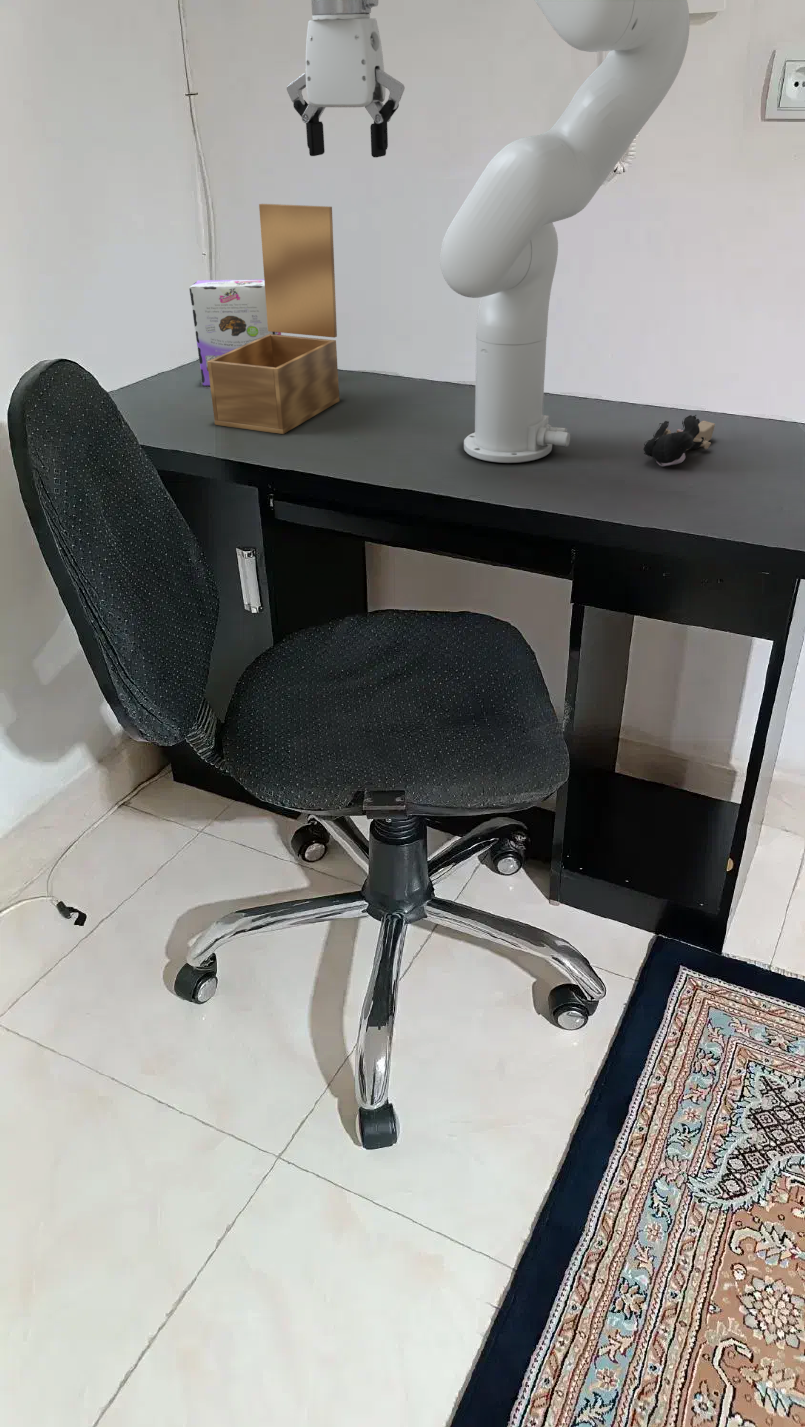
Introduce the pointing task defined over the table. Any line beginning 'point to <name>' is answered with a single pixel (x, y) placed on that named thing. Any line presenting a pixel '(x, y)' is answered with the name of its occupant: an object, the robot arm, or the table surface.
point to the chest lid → (299, 269)
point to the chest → (274, 382)
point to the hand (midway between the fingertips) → (347, 155)
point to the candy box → (227, 317)
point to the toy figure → (678, 441)
